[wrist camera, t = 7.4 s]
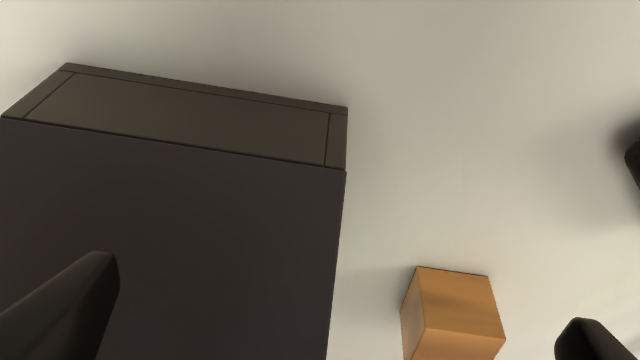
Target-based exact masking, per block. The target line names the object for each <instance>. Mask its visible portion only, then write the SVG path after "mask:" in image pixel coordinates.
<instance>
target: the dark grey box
mask: <svg viewBox="0 0 640 360" xmlns="http://www.w3.org/2000/svg"><path fill="white" fill-rule="evenodd" d="M1 118H5V119H12V120H18V121H25V122H31V123H38V124H44V125H51V126H57V127H64V128H70V129H76V130H83V131H89V132H96V133H102V134H109V135H115V136H122V137H128V138H135V139H141V140H148V141H154V142H160V143H167V144H173V145H180V146H186V147H193V148H199V149H206V150H212V151H219V152H225V153H232V154H238V155H244V156H251V157H257V158H264V159H270V160H277V161H283V162H290V163H296V164H303V165H309V166H316V167H322V168H328V169H335V170H341V171H345V170H346V147H347V122H348V108H347V107H342V106H336V105H330V104H323V103H317V102H311V101H304V100H298V99H292V98H286V97H279V96H273V95H267V94H260V93H254V92H248V91H242V90H235V89H229V88H223V87H216V86H210V85H204V84H198V83H191V82H185V81H179V80H172V79H166V78H160V77H154V76H147V75H141V74H135V73H128V72H122V71H116V70H110V69H103V68H97V67H91V66H84V65H78V64H72V63H65V64H64V65H63V66H62V67H60V68H59V69H58V70H57V71H55V72H54V73H53V74H52V75H50V76H49V77H48V78H47V79H45V80H44V81H43V82H42V83H40V84H39V85H38V86H37V87H35V88H34V89H33V90H32V91H30V92H29V93H28V94H27V95H25V96H24V97H23V98H22V99H20V100H19V101H18V102H17V103H15V104H14V105H13V106H11V107H10V108H9V109H8V110H6V111H5V112H4V113H3V114H1Z"/></svg>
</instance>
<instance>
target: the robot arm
mask: <svg viewBox="0 0 640 360" xmlns="http://www.w3.org/2000/svg"><path fill="white" fill-rule="evenodd" d="M120 285H121V280H120V274H119V269H118V264H117V259H116V256H115V255H114V254H113V253H111V252H105V251H98V250H94V251H91V252H89V253H87V254H86V255H84V256H83V257H81V258H80V259H78V260H77V261H75V262H74V263H73V264H71V265H70V266H68V267H67V268H65V269H64V270H63V271H61V272H60V273H58V274H57V275H55V276H54V277H53V278H51V279H50V280H48V281H47V282H45V283H44V284H43V285H41V286H40V287H38V288H37V289H35V290H34V291H33V292H31V293H30V294H28V295H27V296H25V297H24V298H23V299H21V300H20V301H18V302H17V303H15V304H14V305H13V306H11V307H10V308H8V309H7V310H5V311H4V312H3V313H1V314H0V360H95V359H96V356H97V353H98V350H99V348H100V345H101V342H102V339H103V336H104V334H105V331H106V328H107V325H108V322H109V319H110V317H111V314H112V311H113V308H114V305H115V303H116V300H117V297H118V294H119V291H120ZM554 354H555V360H638V359H637V358H636V357H635V356H634V355H633V354H632V353H630V352H629V351H628V350H627V349H626V348H625V347H624V346H623V345H622V344H621V343H620V342H619V341H618V340H617V339H616V338H615V337H614V336H613V335H612V334H611V333H610V332H609V331H608V330H607V329H606V328H605V327H604V326H603V325H602V324H601V323H599V322H598V321H596V320H593V319H587V318H580V317H575V318H573V319H572V320H571V321H570V322H569V323H568V325H567V326H566V327H565V329H564V330H563V331H562V333H561V334H560V336H559V337H558V338H557V340H556V342H555V346H554Z"/></svg>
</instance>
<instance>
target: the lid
mask: <svg viewBox="0 0 640 360" xmlns="http://www.w3.org/2000/svg"><path fill="white" fill-rule="evenodd" d="M346 175H347V172H346V171H341V170H335V169H328V168H322V167H316V166H309V165H303V164H296V163H290V162H283V161H277V160H270V159H264V158H257V157H251V156H244V155H238V154H232V153H225V152H219V151H212V150H206V149H199V148H193V147H186V146H180V145H173V144H167V143H160V142H154V141H148V140H141V139H135V138H128V137H122V136H115V135H109V134H102V133H96V132H89V131H83V130H76V129H70V128H64V127H57V126H51V125H44V124H38V123H31V122H25V121H18V120H12V119H5V118H0V314H1V313H3V312H4V311H5V310H7V309H8V308H10V307H11V306H13V305H14V304H15V303H17V302H18V301H20V300H21V299H23V298H24V297H25V296H27V295H28V294H30V293H31V292H33V291H34V290H35V289H37V288H38V287H40V286H41V285H43V284H44V283H45V282H47V281H48V280H50V279H51V278H53V277H54V276H55V275H57V274H58V273H60V272H61V271H63V270H64V269H65V268H67V267H68V266H70V265H71V264H73V263H74V262H75V261H77V260H78V259H80V258H81V257H83V256H84V255H86V254H87V253H89V252H91V251H94V250H98V251H105V252H111V253H113V254H114V255H115V256H116V259H117V264H118V269H119V274H120V280H121V285H120V291H119V294H118V297H117V300H116V303H115V305H114V308H113V311H112V314H111V317H110V319H109V322H108V325H107V328H106V331H105V334H104V336H103V339H102V342H101V345H100V348H99V350H98V353H97V356H96V359H95V360H326V354H327V345H328V336H329V327H330V318H331V309H332V300H333V291H334V282H335V273H336V264H337V255H338V246H339V237H340V228H341V219H342V210H343V201H344V192H345V183H346Z"/></svg>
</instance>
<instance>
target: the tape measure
mask: <svg viewBox="0 0 640 360" xmlns="http://www.w3.org/2000/svg"><path fill="white" fill-rule="evenodd" d="M624 159H625V162H626V165H627V167H628V169H629V171H630V173H631V175H632V176H633V178H634V180H635V182H636V184H637V186H638V187H639V189H640V140H639V141H637V142H635V143H634V144H633V145H631V146H630V147H629V148H628V149H627V151H626V152H625V156H624Z"/></svg>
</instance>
